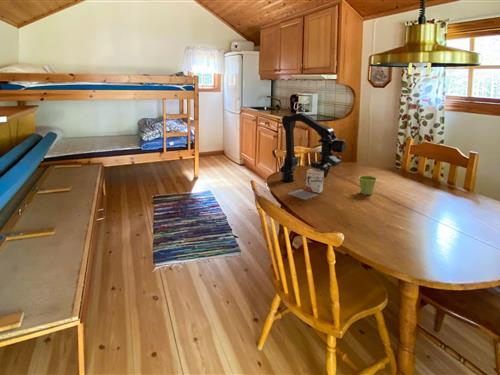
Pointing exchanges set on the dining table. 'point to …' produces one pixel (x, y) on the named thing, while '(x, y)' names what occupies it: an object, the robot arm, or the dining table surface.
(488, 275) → the dining table surface
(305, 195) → the mat
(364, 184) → the plant pot
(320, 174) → the ink box
